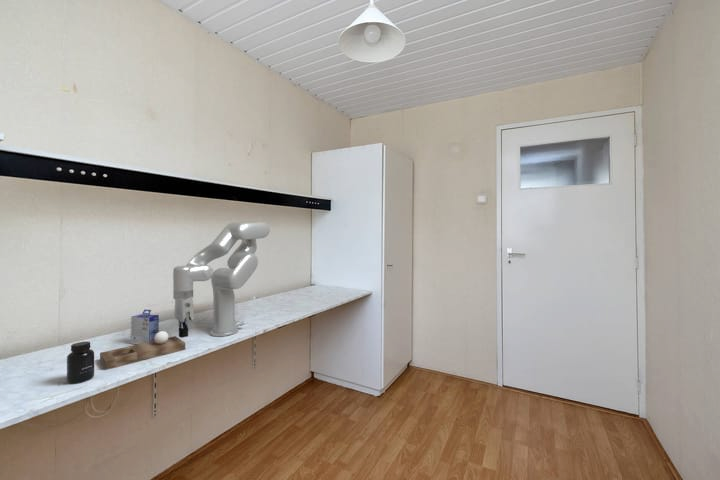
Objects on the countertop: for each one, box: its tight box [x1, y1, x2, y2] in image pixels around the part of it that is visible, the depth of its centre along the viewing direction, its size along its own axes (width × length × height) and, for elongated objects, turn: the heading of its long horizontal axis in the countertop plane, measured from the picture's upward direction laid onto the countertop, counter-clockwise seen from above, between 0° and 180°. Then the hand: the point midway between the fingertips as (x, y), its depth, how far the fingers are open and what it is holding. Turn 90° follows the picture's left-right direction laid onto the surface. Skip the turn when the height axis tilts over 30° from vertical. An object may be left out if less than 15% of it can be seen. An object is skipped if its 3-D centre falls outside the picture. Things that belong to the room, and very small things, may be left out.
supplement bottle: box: [66, 341, 95, 385], centre depth 104 cm, size 7×7×12 cm
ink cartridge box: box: [130, 309, 160, 345], centre depth 138 cm, size 10×6×14 cm, turn 78°
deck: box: [99, 335, 186, 371], centre depth 125 cm, size 26×12×3 cm, turn 138°
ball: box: [154, 330, 170, 344], centre depth 129 cm, size 5×5×5 cm
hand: (183, 336), depth 135 cm, fingers closed
